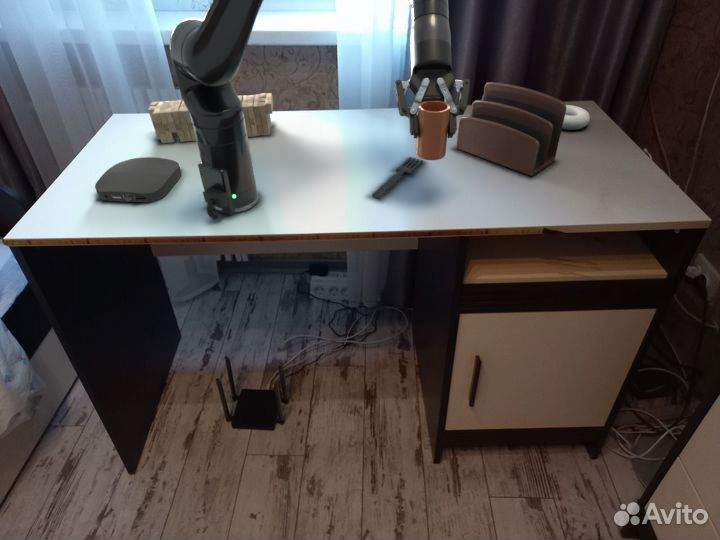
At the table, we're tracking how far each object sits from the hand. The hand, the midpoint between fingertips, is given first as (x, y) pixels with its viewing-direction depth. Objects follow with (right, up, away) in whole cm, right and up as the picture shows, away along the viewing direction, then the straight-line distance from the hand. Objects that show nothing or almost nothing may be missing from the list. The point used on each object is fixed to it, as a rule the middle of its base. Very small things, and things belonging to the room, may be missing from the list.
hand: (433, 136), depth 92 cm
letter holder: (+19, +2, +23) cm, 30 cm away
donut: (+38, +12, +35) cm, 53 cm away
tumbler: (0, -2, +4) cm, 5 cm away
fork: (-5, -5, +15) cm, 17 cm away
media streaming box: (-60, -6, +16) cm, 62 cm away
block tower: (-49, +10, +35) cm, 61 cm away
